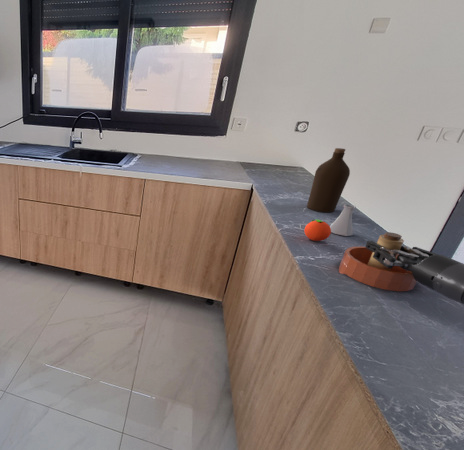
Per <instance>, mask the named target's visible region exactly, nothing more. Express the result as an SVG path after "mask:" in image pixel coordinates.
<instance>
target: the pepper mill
mask: <svg viewBox="0 0 464 450" xmlns="http://www.w3.org/2000/svg"><path fill="white" fill-rule="evenodd" d="M404 242H405V240H404V238H402V234H399V233H395V232H391V231H387V232H384V234H380V235H379V237H378V239H377V242H376V243H377V244H379V245H381V246H384V247H386V248H388V249H391V250H395V249H397V250H400V249H401V246H403V245H404ZM387 253H388V254H390V253H389V252H387ZM373 255H374V252H373V253H372V255H371V257H370V260H369V262H368V264H367V265H369V266H372V267H375V268H378V269H382V270H387V271H390V270H391V269H390V268H387V267H385V266H384V265H382V264H381V263H380V262H378V261H377V260H376V259H374V258H373ZM397 255H398V254H397ZM397 255H396V257H397ZM396 257H395V258H396Z"/></svg>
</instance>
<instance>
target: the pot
mask: <svg viewBox="0 0 464 450" xmlns="http://www.w3.org/2000/svg"><path fill="white" fill-rule="evenodd" d="M372 253H373V252H372V251H370V250H368V249H366V248H365V246H364V245H363V246H362V245H361V246H357V245H356V246H351V247H347V249H345V250H344V253H343V255H342V258H341V261H340V263H339V266H338V272H339V274H341V275H346V276H348V277H349V278H351V279H353V280H354V281H357V282H359V283H362V284H364V285H368V286H370V287H373V288H377V289H382V290H384V291H394V292H408V291H411V290H414V288H415V286H416V285H417V283H418V282H417V281H416V280H415V279H414V277H413V274H412V272H411V271H407V270H405V269H402V268H401V267H399V266H393V268H392V269H391V270H390V271H387V270H382V269H378V268H375V267H372V266H369V265H367V264H368V262H369V260H370V257H371V255H372ZM398 255H399V254H398ZM398 255H397V257H398ZM397 257H396V259H397Z"/></svg>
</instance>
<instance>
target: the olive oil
mask: <svg viewBox="0 0 464 450" xmlns="http://www.w3.org/2000/svg"><path fill="white" fill-rule="evenodd" d="M345 152H346V148H340V147H339V148H338V147H336V148H334V151H333V152H332V153H333V154H332V156H331V158H330V159H327V160H326V161H324V162H323V163H321V164H320V165H318V167H317V168H316V170H315V171H314V172H315V173H314V175H313V176H314V177H313V180H312V185H311V189H310V193H309V197H308V200H307V204H306V207H307V209H309V210H312V211H314V212H320V213H333V212H335V211H336V209H337V207H338V203H339V201H340V198H341V196H342V194H343V191H344V189H345V187H346V185H347V182H348V180H349V177H350V175H351V171H350V167H349V166H348V164H347V163H346V162H345V160H344V156H345V154H346V153H345Z"/></svg>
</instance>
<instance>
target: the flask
mask: <svg viewBox="0 0 464 450" xmlns="http://www.w3.org/2000/svg"><path fill="white" fill-rule="evenodd" d="M356 208H357V207H356V205H353V204H347V203H346V204H343V209H342V211H341V213H340V214H339V215H338V217H336V219H335V220H334V221H333V222H332V223H331V224H329V226H330V228H331V234H332V233H333V234H334V235H338V236H339V235H340V236H342V237H343V236H344V237H349V236H353V235H354V228H353V212H354V210H355V209H356Z"/></svg>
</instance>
